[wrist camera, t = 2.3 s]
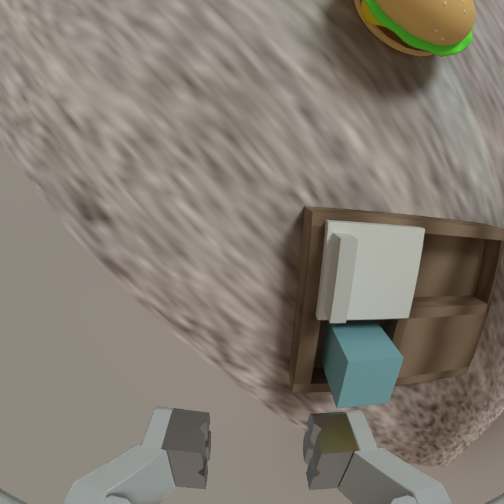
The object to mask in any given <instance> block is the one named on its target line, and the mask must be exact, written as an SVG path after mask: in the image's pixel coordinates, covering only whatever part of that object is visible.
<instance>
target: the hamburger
mask: <svg viewBox="0 0 504 504" xmlns="http://www.w3.org/2000/svg"><path fill="white" fill-rule="evenodd" d="M354 2H355V6H356V9H357V12H358V14H359V16H360V18H361V19H362V21H363V22H364V24H365V25H366V26H367V28H368V29H369V30H370V31H371V32H372V33H373V34H374V35H375V36H376V37H377V38H378V39H380V40H381V41H382V42H384V43H385V44H387V45H388V46H390V47H392V48H394V49H396V50H397V51H400V52H403V53H405V54H409V55H414V56H429V55H433V54H435V55H439V56H440V57H443V56H447V55H453V54H457V53H460V52H462V51H463V50H464V49H465V48H466V47H467V46H468V45H469V44H470V43H471V42H472V29H473V24H474V20H475V7H474V3H473V0H354Z"/></svg>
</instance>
